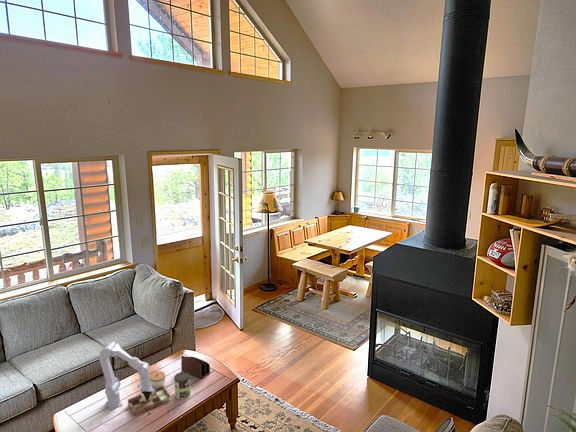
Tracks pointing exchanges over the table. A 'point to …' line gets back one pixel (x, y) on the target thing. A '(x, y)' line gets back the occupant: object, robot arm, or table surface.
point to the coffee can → (182, 385)
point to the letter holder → (195, 367)
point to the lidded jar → (157, 379)
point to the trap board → (149, 401)
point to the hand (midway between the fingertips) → (147, 399)
